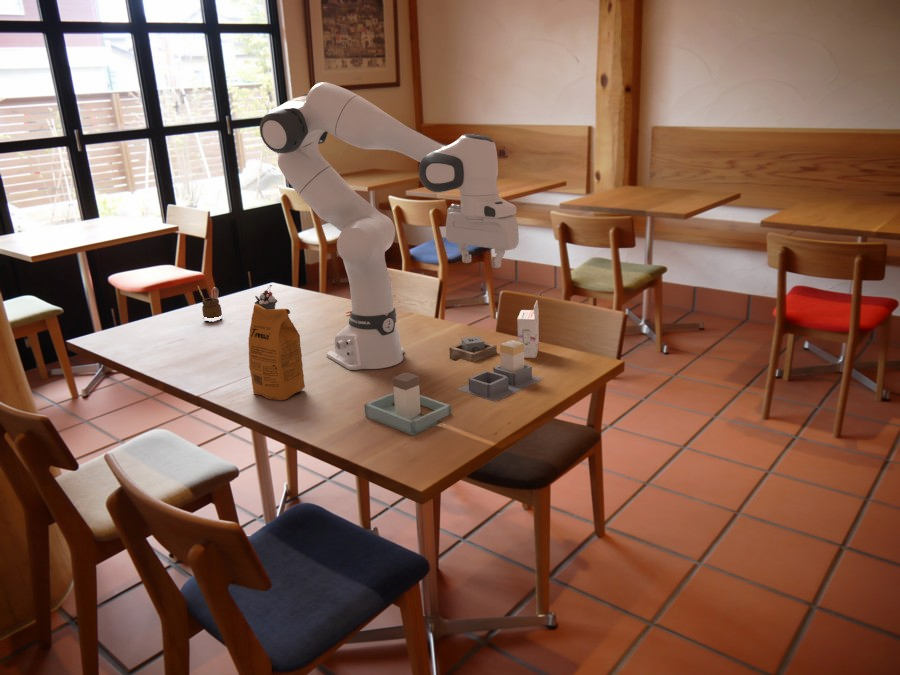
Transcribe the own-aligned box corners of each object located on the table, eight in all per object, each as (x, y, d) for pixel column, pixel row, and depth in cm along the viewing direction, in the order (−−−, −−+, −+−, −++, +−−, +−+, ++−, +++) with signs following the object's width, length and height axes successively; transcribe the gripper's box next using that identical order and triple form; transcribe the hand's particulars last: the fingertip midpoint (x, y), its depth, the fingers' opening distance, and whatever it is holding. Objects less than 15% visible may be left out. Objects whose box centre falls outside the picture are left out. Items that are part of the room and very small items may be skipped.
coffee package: (276, 381, 190) (266, 298, 183) (311, 390, 183) (302, 304, 176) (246, 394, 182) (234, 308, 175) (281, 404, 175) (270, 315, 168)
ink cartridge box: (521, 350, 205) (520, 298, 200) (539, 350, 204) (538, 299, 199) (517, 360, 197) (516, 307, 192) (536, 361, 196) (535, 307, 191)
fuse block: (457, 393, 177) (456, 377, 176) (505, 371, 189) (505, 356, 188) (495, 405, 169) (495, 389, 168) (543, 382, 181) (543, 367, 180)
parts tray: (365, 416, 167) (364, 404, 166) (403, 400, 174) (402, 388, 173) (412, 435, 156) (412, 422, 155) (451, 417, 164) (450, 405, 163)
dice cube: (462, 355, 203) (461, 338, 201) (479, 353, 204) (479, 336, 202) (466, 361, 198) (466, 343, 196) (484, 359, 199) (484, 341, 198)
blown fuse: (395, 415, 165) (392, 377, 162) (408, 409, 168) (406, 372, 165) (407, 420, 162) (405, 381, 160) (421, 414, 165) (418, 376, 162)
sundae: (285, 331, 231) (280, 284, 226) (270, 337, 225) (264, 289, 221) (270, 328, 234) (264, 282, 229) (254, 334, 229) (248, 287, 224)
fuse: (500, 379, 182) (500, 344, 179) (511, 374, 185) (511, 340, 182) (513, 382, 179) (513, 347, 177) (524, 377, 182) (524, 343, 179)
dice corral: (449, 358, 201) (449, 347, 200) (472, 349, 207) (471, 339, 206) (474, 365, 195) (474, 354, 194) (496, 356, 201) (496, 345, 200)
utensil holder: (222, 321, 244) (217, 286, 240) (202, 323, 242) (196, 288, 239) (223, 316, 249) (218, 282, 245) (203, 318, 248) (198, 283, 244)
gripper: (438, 204, 177) (441, 261, 181) (504, 211, 163) (505, 272, 167) (456, 201, 181) (458, 257, 185) (522, 207, 167) (523, 267, 172)
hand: (481, 264), depth 176 cm, fingers open, 8 cm apart
